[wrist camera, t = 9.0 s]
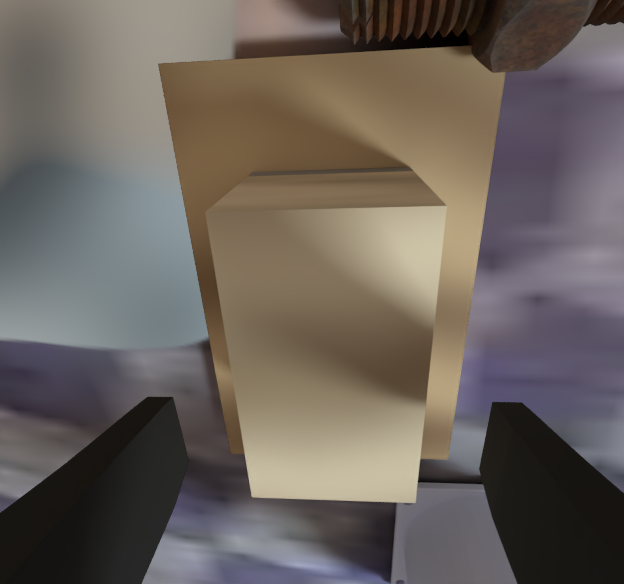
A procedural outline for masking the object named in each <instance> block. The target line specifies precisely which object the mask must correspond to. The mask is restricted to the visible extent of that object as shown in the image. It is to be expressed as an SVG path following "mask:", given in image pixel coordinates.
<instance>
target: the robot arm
mask: <svg viewBox="0 0 624 584" xmlns="http://www.w3.org/2000/svg"><path fill="white" fill-rule="evenodd" d="M188 461H189V460H188V456H187V452H186V447H185V443H184V439H183V435H182V431H181V427H180V423H179V419H178V415H177V411H176V407H175V403H174V399H173V397H147V398H146V399H144V400H143V401H142V402H140V403H139V404H138V405H137V406H135V407H134V408H133V409H132V410H130V411H129V412H128V413H127V414H126V415H124V416H123V417H122V418H121V419H119V420H118V421H117V422H116V423H115V424H113V425H112V426H111V427H110V428H109V429H107V430H106V431H105V432H104V433H102V434H101V435H100V436H99V437H98V438H96V439H95V440H94V441H93V442H91V443H90V444H89V445H88V446H87V447H85V448H84V449H83V450H82V451H80V452H79V453H78V454H77V455H75V456H74V457H73V458H72V459H70V460H69V461H68V462H67V463H66V464H64V465H63V466H62V467H60V468H59V469H58V470H57V471H55V472H54V473H53V474H51V475H50V476H49V477H47V478H46V479H45V480H43V481H42V482H41V483H39V484H38V485H37V486H35V487H34V488H33V489H31V490H30V491H29V492H28V493H26V494H25V495H24V496H22V497H21V498H20V499H18V500H17V501H16V502H14V503H13V504H12V505H10V506H9V507H8V508H6V509H5V510H4V511H2V512H1V513H0V584H141V583H142V581H143V579H144V576H145V574H146V572H147V570H148V567H149V565H150V563H151V560H152V558H153V556H154V554H155V551H156V549H157V547H158V544H159V542H160V540H161V537H162V535H163V533H164V530H165V528H166V526H167V523H168V521H169V519H170V516H171V514H172V512H173V509H174V507H175V504H176V501H177V498H178V495H179V492H180V488H181V485H182V482H183V478H184V475H185V471H186V468H187V464H188ZM479 470H480V474H481V478H482V482H483V484H458V483H425V482H418V484H417V494H416V503H399V502H396V516H395V529H394V543H393V556H392V570H391V583H390V584H624V493H623V492H622V491H620V490H619V489H618V488H617V487H616V486H615V485H613V484H612V483H611V482H610V481H609V480H608V479H606V478H605V477H604V476H603V475H602V474H601V473H600V472H598V471H597V470H596V469H595V468H594V467H593V466H592V465H590V464H589V463H588V462H587V461H586V460H585V459H584V458H583V457H581V456H580V455H579V454H578V453H577V452H576V451H575V450H574V449H573V448H571V447H570V446H569V445H568V444H567V443H566V442H565V441H564V440H563V439H561V438H560V437H559V436H558V435H557V434H556V433H555V432H554V431H553V430H552V429H551V428H549V427H548V426H547V425H546V424H545V423H544V422H543V421H542V420H541V419H540V418H538V417H537V416H536V415H535V414H534V413H533V412H532V411H531V410H530V409H528V408H527V407H526V406H525V405H524V404H523V403H516V402H492V407H491V412H490V417H489V422H488V427H487V432H486V438H485V443H484V448H483V453H482V458H481V463H480V468H479Z"/></svg>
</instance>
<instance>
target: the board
mask: <svg viewBox="0 0 624 584" xmlns="http://www.w3.org/2000/svg"><path fill="white" fill-rule="evenodd" d="M471 47H472V46H456V47H439V48H421V49H404V50H387V51H369V52H352V53H335V54H318V55H300V56H283V57H266V58H248V59H231V60H214V61H197V62H179V63H163V64H158V65H159V71H160V76H161V81H162V87H163V92H164V97H165V103H166V108H167V114H168V119H169V124H170V129H171V135H172V140H173V146H174V152H175V157H176V162H177V168H178V172H179V179H180V184H181V189H182V194H183V200H184V205H185V211H186V216H187V222H188V226H189V232H190V238H191V243H192V249H193V254H194V259H195V265H196V270H197V275H198V281H199V286H200V292H201V297H202V302H203V308H204V313H205V319H206V324H207V329H208V335H209V340H210V346H211V351H212V356H213V362H214V367H215V373H216V378H217V383H218V389H219V394H220V400H221V405H222V410H223V416H224V421H225V426H226V432H227V437H228V443H229V448H230V453H231V454H245V452H244V446H243V440H242V434H241V428H240V422H239V416H238V410H237V404H236V397H235V391H234V385H233V379H232V373H231V367H230V361H229V355H228V349H227V342H226V336H225V330H224V324H223V318H222V312H221V306H220V300H219V294H218V287H217V281H216V275H215V269H214V263H213V257H212V251H211V245H210V239H209V232H208V226H207V220H206V214H205V212H206V211H207V210H208V209H209V208H210V207H212V206H213V205H214V204H215V203H217V202H218V201H219V200H220V199H221V198H223V197H224V196H225V195H226V194H227V193H229V192H230V191H231V190H232V189H233V188H235V187H236V186H237V185H238V184H239V183H241V182H242V181H243V180H244V179H245V178H247V177H248V176H249V175H250V174H251V173H253V172H268V171H298V170H328V169H358V168H387V167H410V168H411V169H412V170H413V171H414V172H415V173H416V174H417V175H418V176H419V177H420V178H421V179H422V180H423V181H424V182H425V183H426V184H427V185H428V186H429V187H430V188H431V190H432V191H433V192H434V193H435V194H436V195H437V196H438V197H439V198H440V199H441V200H442V201H443V202H444V203H445V204H446V205H447V211H446V220H445V229H444V239H443V248H442V258H441V267H440V277H439V286H438V296H437V305H436V314H435V324H434V333H433V343H432V352H431V362H430V371H429V380H428V390H427V399H426V409H425V418H424V428H423V437H422V447H421V456H420V459H448V456H449V449H450V442H451V435H452V429H453V422H454V415H455V408H456V402H457V395H458V388H459V382H460V375H461V368H462V361H463V355H464V348H465V341H466V334H467V328H468V321H469V314H470V308H471V301H472V294H473V287H474V281H475V274H476V267H477V260H478V254H479V247H480V240H481V234H482V227H483V220H484V213H485V207H486V200H487V193H488V186H489V180H490V173H491V166H492V160H493V153H494V146H495V139H496V133H497V126H498V119H499V112H500V106H501V99H502V92H503V86H504V79H505V72H499V73H492V72H491V71H489V70H488V69H487V68H486V67H485V66H483V65H482V64H481V63H480V62H479V61H478V60H477V59H476V58H475V57H474V56H473V54H472V52H471Z"/></svg>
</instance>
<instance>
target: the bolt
mask: <svg viewBox="0 0 624 584" xmlns="http://www.w3.org/2000/svg"><path fill="white" fill-rule="evenodd" d="M339 2H340V28H341V32H342V33H344V34H345V35H346V36H348V37H349V39H350V40H351V41H352V43H353V44H354V45H355V44H356V42H357V41H358V39H359V38H360V36H361V37H362V38H363V39H364V41H365V42H366V43H367V44H368V42H369V41H370V39H371V38H372V36H373V35H374V36H375V37H376V39H377V40H378V42H379V41H380V40H381V39H382V38H383V37H384V36H385V35H386V34H387V35H388V37H389V39H390V40H391V42H392V41H393V40H394V38H395V37H396V36H397V35H398V33H400V34H401V36H402V38H403V39H404V40H406V39H407V37H408V36H409V35H410V34H411V33H412V32H413V33H414V35H415V37H416V39H419V38H420V37H421V36H422V34H423V33H424V32H425V31H426V32H427V34H428V35H429V37H430V39H431V38H432V37H433V36H434V35H435V34H436V32H437V31H438V30H439V31H440V33H441V35H442V37H446V36H447V34H448V33H449V32H450V31H451V29H452V30H453V32H454V33H455V35H456V36H457V37H458V36H459V35H460V33H461V32H462V31H463V30H464V29H466V31H467V36H468V43H469V46H472V47H471V52H472V54H473V56H474V57H475V58H476V59H477V60H478V61H479V62H480V63H481V64H482V65H483V66H485V67H486V68H487V69H488V70H489V71H491V72H492V73H499V72H514V71H528V70H537V69H538V68H539V67H541V66H542V65H544V64H545V63H546V62H548V61H549V60H550V59H552V58H553V57H554V56H556V55H557V54H558V53H559V52H560V51H561V50H563V49H564V48H565V47H566V46H567V45H568V44H569V43H570V42H571V41H572V40H573V39H574V38H575V36H576V35H577V34H578V32H579V31H580V30H581V28H582V27H584V26H587V25H589V24H592V25H594V26H597V25H601V24H603V23H607V24H609V25H610V24H616V23H618V22H622V23H624V0H339Z"/></svg>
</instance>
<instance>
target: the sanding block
mask: <svg viewBox="0 0 624 584" xmlns="http://www.w3.org/2000/svg"><path fill="white" fill-rule="evenodd" d="M446 211H447V205H446V204H445V203H444V202H443V201H442V200H441V199H440V198H439V197H438V196H437V195H436V194H435V193H434V192H433V191H432V190H431V188H430V187H429V186H428V185H427V184H426V183H425V182H424V181H423V180H422V179H421V178H420V177H419V176H418V175H417V174H416V173H415V172H414V171H413V170H412V169H411V168H410V167H387V168H358V169H328V170H298V171H268V172H253V173H251V174H250V175H249V176H248V177H247V178H245V179H244V180H243V181H242V182H241V183H239V184H238V185H237V186H236V187H235V188H233V189H232V190H231V191H230V192H229V193H227V194H226V195H225V196H224V197H223V198H221V199H220V200H219V201H218V202H217V203H215V204H214V205H213V206H212V207H210V208H209V209H208V210H207V211H206V212H205V214H206V220H207V226H208V232H209V239H210V245H211V251H212V257H213V263H214V269H215V275H216V281H217V287H218V294H219V300H220V306H221V312H222V318H223V324H224V330H225V336H226V342H227V349H228V355H229V361H230V367H231V373H232V379H233V385H234V391H235V397H236V404H237V410H238V416H239V422H240V428H241V434H242V440H243V446H244V452H245V459H246V465H247V471H248V477H249V483H250V489H251V495H252V497H256V498H284V499H313V500H342V501H370V502H399V503H416V494H417V484H418V475H419V465H420V456H421V447H422V437H423V428H424V418H425V409H426V399H427V390H428V380H429V371H430V362H431V352H432V343H433V333H434V324H435V314H436V305H437V296H438V286H439V277H440V267H441V258H442V248H443V239H444V229H445V220H446Z"/></svg>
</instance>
